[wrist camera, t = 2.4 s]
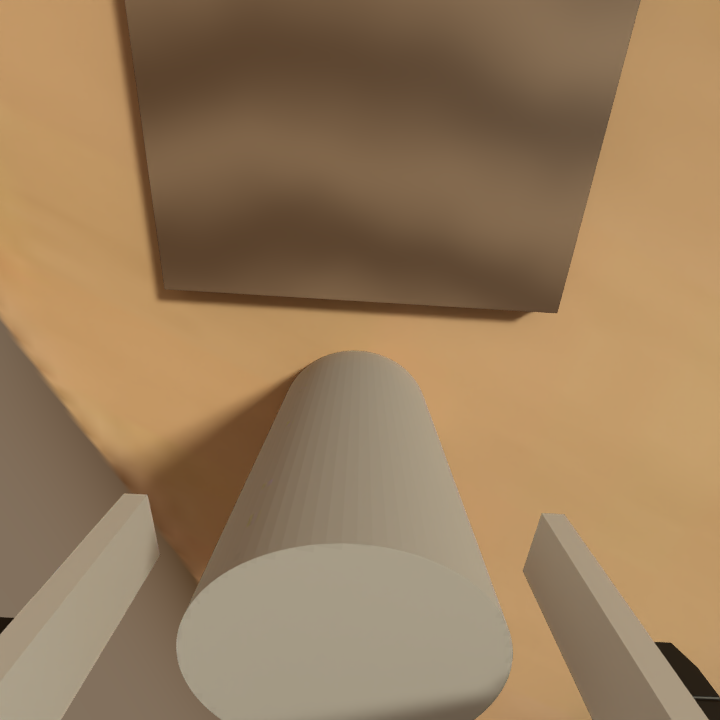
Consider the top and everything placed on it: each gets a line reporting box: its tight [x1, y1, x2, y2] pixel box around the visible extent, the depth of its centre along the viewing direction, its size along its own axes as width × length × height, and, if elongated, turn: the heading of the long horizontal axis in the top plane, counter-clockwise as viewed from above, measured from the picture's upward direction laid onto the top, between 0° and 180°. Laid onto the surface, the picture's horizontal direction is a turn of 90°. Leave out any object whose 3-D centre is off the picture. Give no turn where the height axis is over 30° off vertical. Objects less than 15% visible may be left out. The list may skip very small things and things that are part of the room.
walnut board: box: [125, 0, 640, 313], centre depth 14 cm, size 16×18×2 cm
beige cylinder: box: [176, 351, 513, 720], centre depth 14 cm, size 8×8×12 cm
